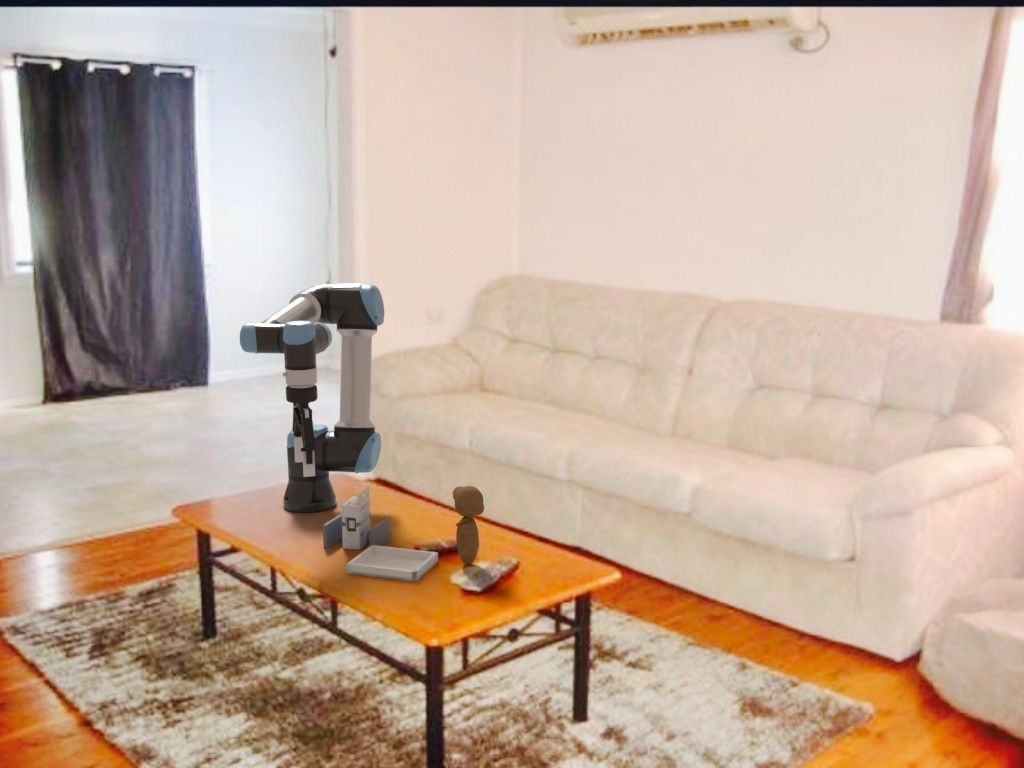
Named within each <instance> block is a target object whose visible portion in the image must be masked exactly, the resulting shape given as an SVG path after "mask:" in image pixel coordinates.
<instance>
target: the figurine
mask: <svg viewBox="0 0 1024 768" xmlns="http://www.w3.org/2000/svg"><path fill="white" fill-rule="evenodd" d="M452 499H453V501H454V508H455V511H456V512H457V514H458V515H460V516H461V517H462V518H460V520H459V521H458V522H457V523H455V526H456V534H455V535H456V538H455V540H456V549H457V553H458V556H459V559H460V560H461V562H462V563H463V564H464V565H465V566H466V565H467V566H469V565H472V564H473V563H474V562H475V560H476V558H477V555H478V552H479V543H480V537H479V529H478V526H477V522H476V520H475V518H473V517H474V516H479V515H482V514H483V513H484V511H485V506H484V505H485V504H484V497H483V493H482V492H481V490H479V489H478V488H477V487H476V486H472V485H466V486H456V487H455V488H453V491H452Z"/></svg>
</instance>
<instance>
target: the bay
mask: <svg viewBox="0 0 1024 768" xmlns="http://www.w3.org/2000/svg"><path fill="white" fill-rule="evenodd" d="M322 537H323V541H322V542H323V548H326V549H328V548H329V547H330V546H332V545H333V544H335V543H336V542H338V541H339V540H341V539H342V513H339V514H337V515H336V516H335V517H333V518H332V519H330V520H329V521H326V522H325V523H324V524H323V525H322ZM391 540H392V532H391V531H390V518H384V519H382V520H381V521H380V522H378V523H377V524H376V525H373V527H370V530H369V541H368V547H370V546H371V545H378V546H385V544H387V543H388V542H389V541H391Z"/></svg>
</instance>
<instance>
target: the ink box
mask: <svg viewBox="0 0 1024 768" xmlns="http://www.w3.org/2000/svg"><path fill="white" fill-rule="evenodd" d="M370 503H371V502H370V487H369V486H367V487H366V488H364V489H363V490H362V491H361V492H359V493H358V495H352V496H351V497H350V498H348V499H347V500H346V501H345V502H343V504H341V506H340V507H341V508H340V509H341V514H342V538H341V539H342V549H344V550H345V549H346V550H356V551H357V550H361V549H363V548H364V547H365V545H367V544H368V543H369V530H370V529H371V511H370V510H371V508H370V507H371V506H370V505H371V504H370Z"/></svg>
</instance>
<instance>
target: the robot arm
mask: <svg viewBox="0 0 1024 768" xmlns="http://www.w3.org/2000/svg"><path fill="white" fill-rule="evenodd" d="M384 321H385V306H384V301H383V296H382V293H381V291H380V289H379V288H378V287H377V286H376V285H374V284H369V283H368V284H367V283H323V284H322V283H321V284H319V285H318V284H317V285H315V286H312V287H309V288H306V289H304V290H302V291H300V292H299V293H297V294H296V295H295V294H294V296H293V297H292V298H291V299H290V300H289V303H288V304H287V305H285V306H283V308H281V309H279V310H278V311H277V312H275V313H274V314H272V315H271V316H269V317H268V318H266V319H264V320H263V321H261V322H258V323H257V322H250V323H245V324H243V325H242V326H241V329H240V331H239V344H240V348H241V349H242V351H243V352H245V353H248V354H249V353H250V354H251V353H252V354H255V355H256V354H283V355H284V356H283V357H284V369H285V370H284V371H285V372H283V373H282V376H283V377H285V384H286V385H287V386H286V387H285V398H286V399H285V400H286V401H287V402H289V403H291V404H292V428H291V431H289V432H288V433H287V435H286V436H287V437H286V438H287V439H286V444H287V445H286V454H287V471H288V473H287V475H288V482H287V485H286V488H285V491H284V496H283V499H282V501H283V502H282V503H283V509H286V510H287V511H291V512H295V513H314V512H321V511H327V510H329V509H332V508H333V507H335V506H336V505H337V496H336V495H337V494H336V493H335V490H334V487H333V484H332V482H331V479H330V472H331V473H332V472H333V473H334V472H336V473H355V474H359V473H362V474H363V473H370V472H372V471H373V470H374V469H375V468H376V466H377V465H378V462H379V459H380V455H381V450H382V435H381V434H380V433H379V432H377V431H376V426H375V424H374V423H373V422H372V421H371V419H370V418H371V390H372V389H371V388H372V387H371V386H372V385H371V384H372V383H371V382H372V347H373V346H372V343H373V342H372V341H373V340H372V339H373V337H374V335H376V333H378V327H379V326H382V325H383V323H384ZM327 324H328V325H336V331H337V333H338V334H339V335H341V347H340V348H341V352H340V353H341V356H340V357H341V358H340V400H339V402H340V403H339V420H338V421H336V423H335V424H334V426H333V430H332V431H331V430H329V427H328V425H326V424H319V423H318V424H314V421H313V410H312V408H311V407H310V406H309V405H310V404H309V403H313V402H315V401H317V400H318V385H317V383H318V375H317V373H318V372H317V370H318V368H317V355H318V354H321V353H323V352H324V351H326V350H327V348H329V347H330V346H331V343H332V339H333V334H332V331H331V330H330V328H329V326H328V325H327Z"/></svg>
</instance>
